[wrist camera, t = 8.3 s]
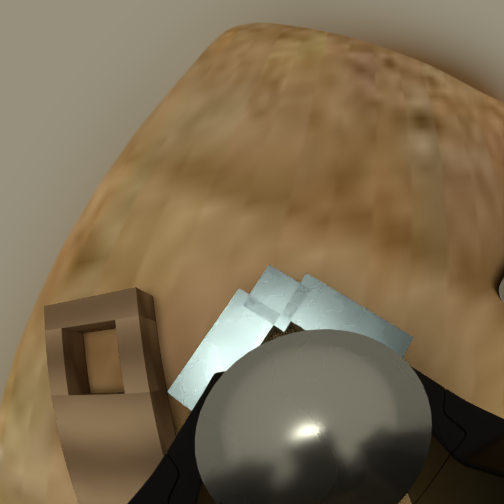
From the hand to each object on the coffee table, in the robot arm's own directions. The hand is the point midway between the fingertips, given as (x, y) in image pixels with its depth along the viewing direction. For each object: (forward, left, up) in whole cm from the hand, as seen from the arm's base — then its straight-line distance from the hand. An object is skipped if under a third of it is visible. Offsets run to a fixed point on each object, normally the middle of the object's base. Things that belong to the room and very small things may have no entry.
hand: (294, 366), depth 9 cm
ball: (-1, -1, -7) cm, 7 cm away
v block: (+2, +1, -12) cm, 12 cm away
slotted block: (-7, +12, -12) cm, 19 cm away
